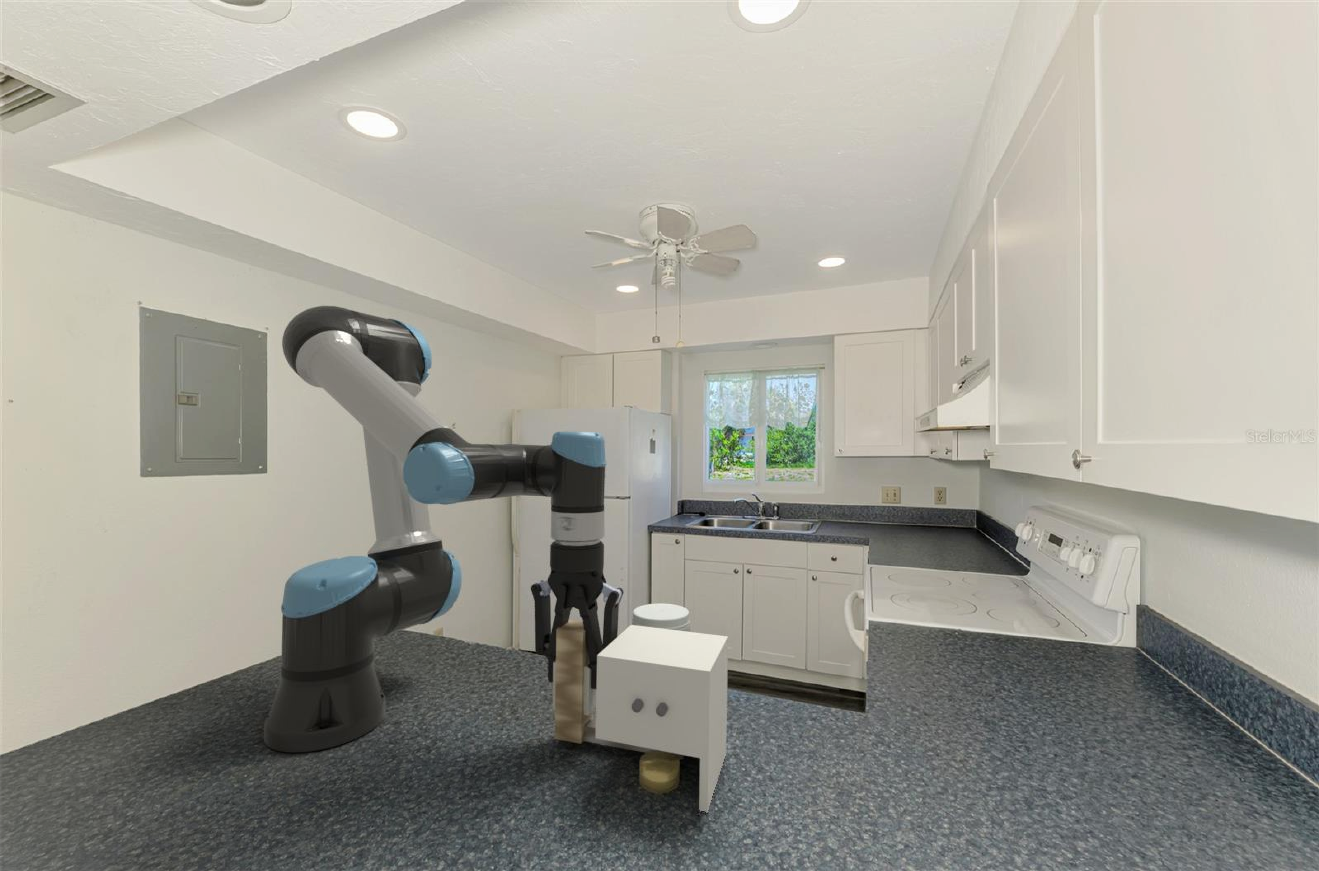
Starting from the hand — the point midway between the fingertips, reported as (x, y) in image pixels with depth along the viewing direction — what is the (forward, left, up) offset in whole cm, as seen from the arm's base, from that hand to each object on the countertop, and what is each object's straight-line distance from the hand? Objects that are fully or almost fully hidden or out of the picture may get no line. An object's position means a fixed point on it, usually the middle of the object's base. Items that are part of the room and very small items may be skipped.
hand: (574, 707), depth 76 cm
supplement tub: (+8, +16, -5) cm, 18 cm away
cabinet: (+14, -2, -5) cm, 15 cm away
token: (+14, -4, -5) cm, 15 cm away
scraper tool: (+7, 0, -4) cm, 8 cm away
